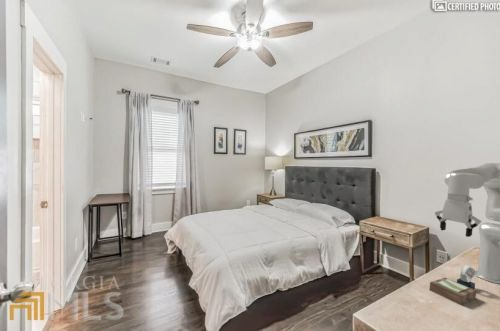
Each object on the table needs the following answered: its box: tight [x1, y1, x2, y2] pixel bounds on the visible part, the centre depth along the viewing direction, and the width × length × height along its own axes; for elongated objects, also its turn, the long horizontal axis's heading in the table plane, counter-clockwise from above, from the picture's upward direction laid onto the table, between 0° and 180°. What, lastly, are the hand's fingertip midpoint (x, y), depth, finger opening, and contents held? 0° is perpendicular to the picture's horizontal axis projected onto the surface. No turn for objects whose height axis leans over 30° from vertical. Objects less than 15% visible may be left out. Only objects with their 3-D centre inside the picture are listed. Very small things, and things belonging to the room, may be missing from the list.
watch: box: [456, 264, 477, 290], centre depth 114 cm, size 6×8×11 cm
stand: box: [429, 277, 477, 306], centre depth 106 cm, size 14×12×4 cm
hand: (455, 233), depth 107 cm, fingers open, 9 cm apart
